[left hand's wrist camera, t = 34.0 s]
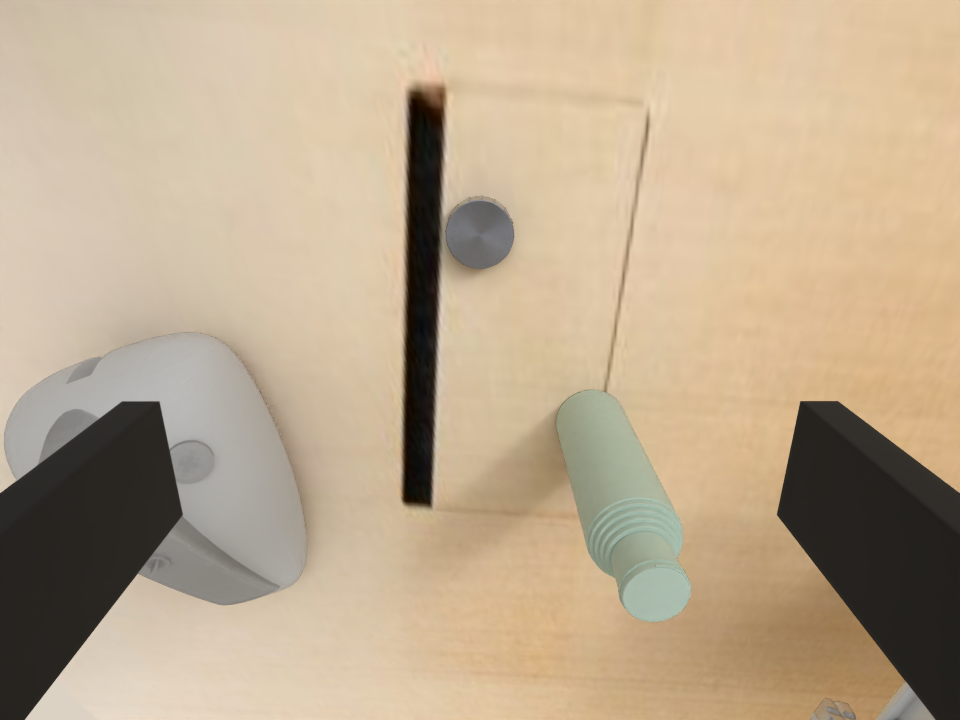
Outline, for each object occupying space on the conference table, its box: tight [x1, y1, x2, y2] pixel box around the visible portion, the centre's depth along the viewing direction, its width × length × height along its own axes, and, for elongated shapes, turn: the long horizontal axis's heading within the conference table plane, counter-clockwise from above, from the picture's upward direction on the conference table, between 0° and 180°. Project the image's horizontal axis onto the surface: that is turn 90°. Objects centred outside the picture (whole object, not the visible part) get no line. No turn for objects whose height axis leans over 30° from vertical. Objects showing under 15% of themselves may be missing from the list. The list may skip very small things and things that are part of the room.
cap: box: [445, 196, 514, 269], centre depth 41 cm, size 5×5×2 cm
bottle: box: [556, 390, 691, 622], centre depth 39 cm, size 5×5×19 cm
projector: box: [4, 332, 307, 605], centre depth 41 cm, size 22×23×15 cm
